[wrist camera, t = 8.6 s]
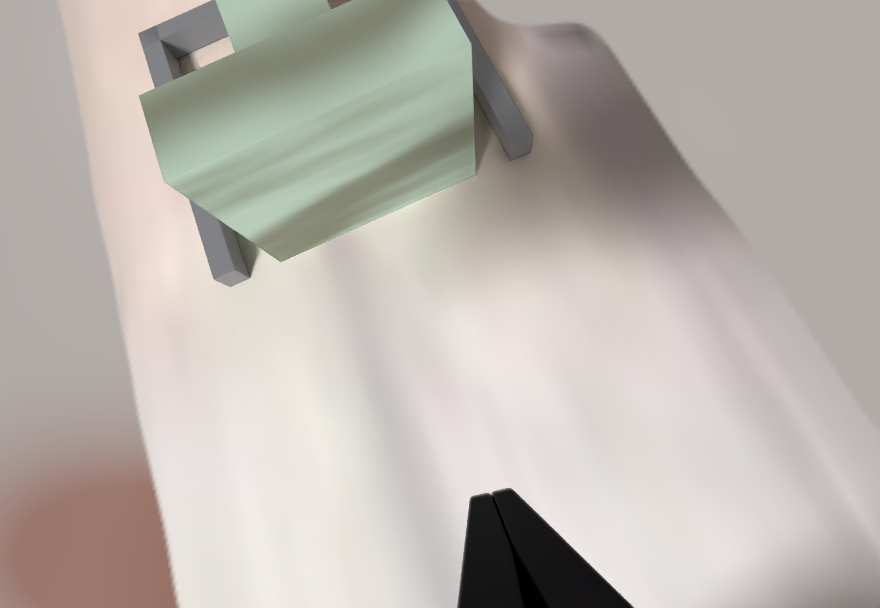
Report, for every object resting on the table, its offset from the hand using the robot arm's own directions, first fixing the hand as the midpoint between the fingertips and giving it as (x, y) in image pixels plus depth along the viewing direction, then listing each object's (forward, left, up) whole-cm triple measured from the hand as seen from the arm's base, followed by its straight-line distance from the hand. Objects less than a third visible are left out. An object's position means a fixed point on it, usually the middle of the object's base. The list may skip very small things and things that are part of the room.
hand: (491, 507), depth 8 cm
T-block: (+20, +6, -13) cm, 24 cm away
